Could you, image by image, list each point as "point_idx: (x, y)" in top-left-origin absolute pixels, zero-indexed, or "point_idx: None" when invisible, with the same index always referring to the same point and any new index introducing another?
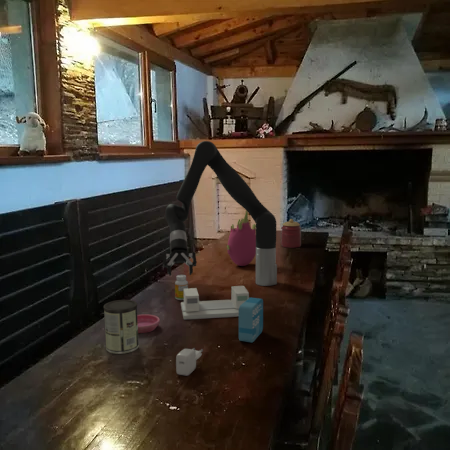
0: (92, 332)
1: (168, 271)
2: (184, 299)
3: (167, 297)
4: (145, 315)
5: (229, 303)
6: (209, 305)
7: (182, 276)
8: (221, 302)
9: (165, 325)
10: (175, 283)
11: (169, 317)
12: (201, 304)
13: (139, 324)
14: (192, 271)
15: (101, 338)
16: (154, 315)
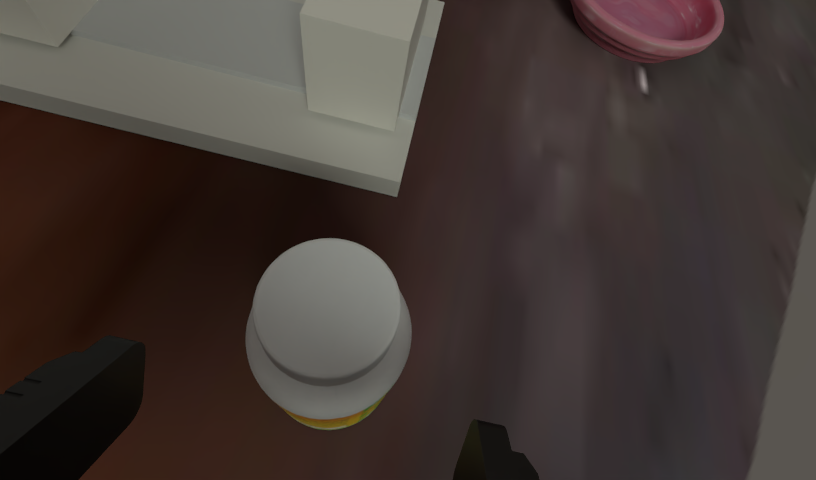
0: (812, 61)
1: (524, 474)
2: (416, 39)
3: (447, 445)
4: (636, 32)
5: (109, 18)
6: (253, 39)
7: (325, 261)
8: (135, 70)
9: (531, 5)
10: (410, 320)
11: (501, 68)
12: (291, 72)
13: (644, 31)
14: (66, 358)
15: (760, 7)
16: (595, 6)
